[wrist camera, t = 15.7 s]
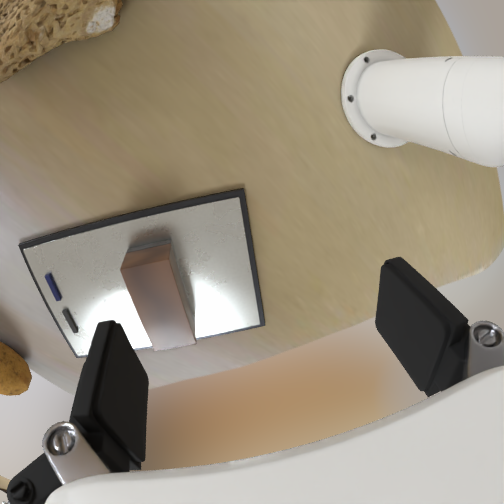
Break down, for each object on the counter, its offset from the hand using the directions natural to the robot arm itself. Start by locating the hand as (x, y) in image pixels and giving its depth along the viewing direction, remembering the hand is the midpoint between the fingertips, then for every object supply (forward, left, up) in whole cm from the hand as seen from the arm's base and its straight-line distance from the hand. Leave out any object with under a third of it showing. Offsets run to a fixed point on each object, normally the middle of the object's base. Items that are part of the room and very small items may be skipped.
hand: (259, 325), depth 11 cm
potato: (+42, +20, -26) cm, 54 cm away
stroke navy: (+24, +10, -26) cm, 36 cm away
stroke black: (+24, +16, -26) cm, 38 cm away
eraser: (+9, +13, -26) cm, 30 cm away
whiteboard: (+12, +13, -26) cm, 32 cm away
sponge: (+16, -22, -26) cm, 38 cm away
